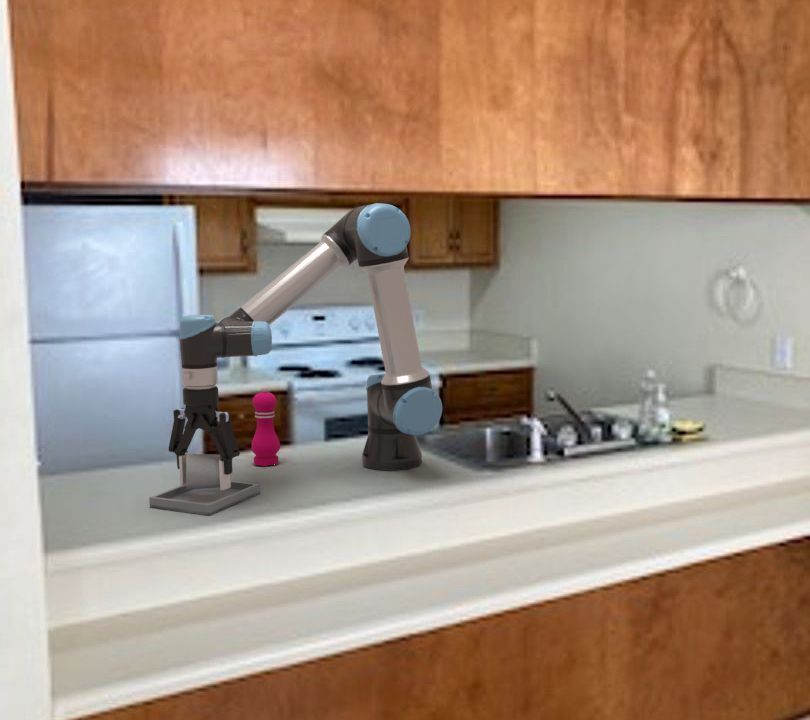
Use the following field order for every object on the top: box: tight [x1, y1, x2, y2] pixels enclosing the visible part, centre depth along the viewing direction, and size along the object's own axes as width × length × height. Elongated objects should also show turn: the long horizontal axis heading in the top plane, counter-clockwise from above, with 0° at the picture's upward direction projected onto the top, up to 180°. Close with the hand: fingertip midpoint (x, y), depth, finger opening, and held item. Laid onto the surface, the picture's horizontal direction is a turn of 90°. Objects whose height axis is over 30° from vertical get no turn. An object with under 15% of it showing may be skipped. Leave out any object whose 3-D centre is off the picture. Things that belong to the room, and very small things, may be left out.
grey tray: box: [148, 480, 261, 516], centre depth 201 cm, size 16×18×2 cm
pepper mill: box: [251, 385, 281, 467], centre depth 233 cm, size 7×7×20 cm
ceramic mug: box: [186, 453, 222, 489], centre depth 202 cm, size 11×8×8 cm
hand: (205, 486), depth 201 cm, fingers closed on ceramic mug, 10 cm apart
